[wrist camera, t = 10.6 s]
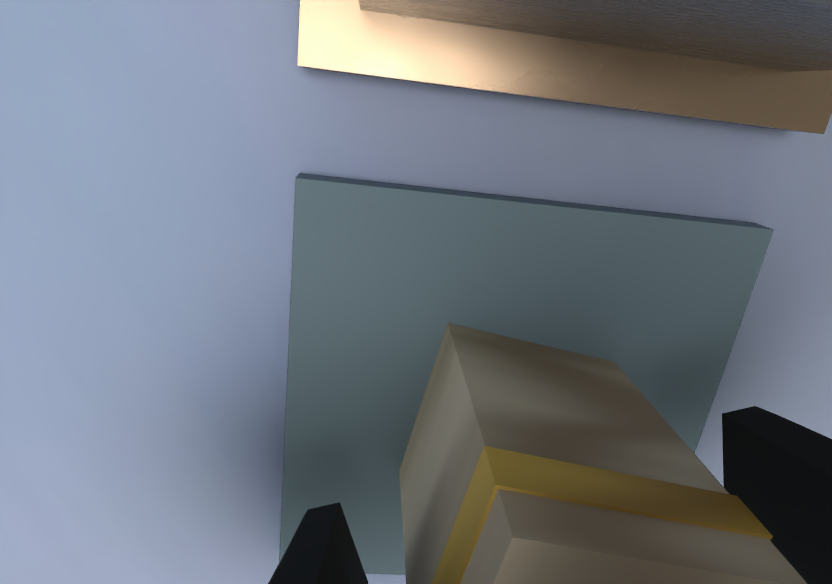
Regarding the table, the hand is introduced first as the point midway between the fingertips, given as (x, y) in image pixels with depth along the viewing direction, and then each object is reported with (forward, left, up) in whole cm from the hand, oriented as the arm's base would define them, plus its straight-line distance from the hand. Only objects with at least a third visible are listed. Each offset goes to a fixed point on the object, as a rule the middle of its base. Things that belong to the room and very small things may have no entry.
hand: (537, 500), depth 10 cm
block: (0, 0, -3) cm, 3 cm away
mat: (0, 0, -3) cm, 3 cm away
